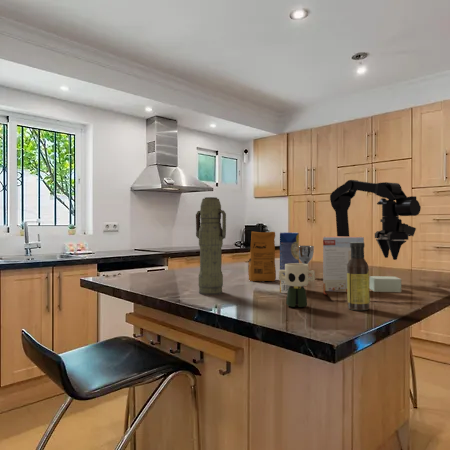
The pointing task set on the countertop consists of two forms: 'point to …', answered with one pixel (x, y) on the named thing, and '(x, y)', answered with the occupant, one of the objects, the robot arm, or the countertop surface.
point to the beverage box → (288, 254)
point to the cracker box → (336, 262)
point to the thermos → (210, 245)
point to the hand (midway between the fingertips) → (390, 258)
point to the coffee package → (262, 257)
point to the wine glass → (306, 254)
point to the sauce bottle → (357, 279)
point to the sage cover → (385, 284)
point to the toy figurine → (296, 282)
